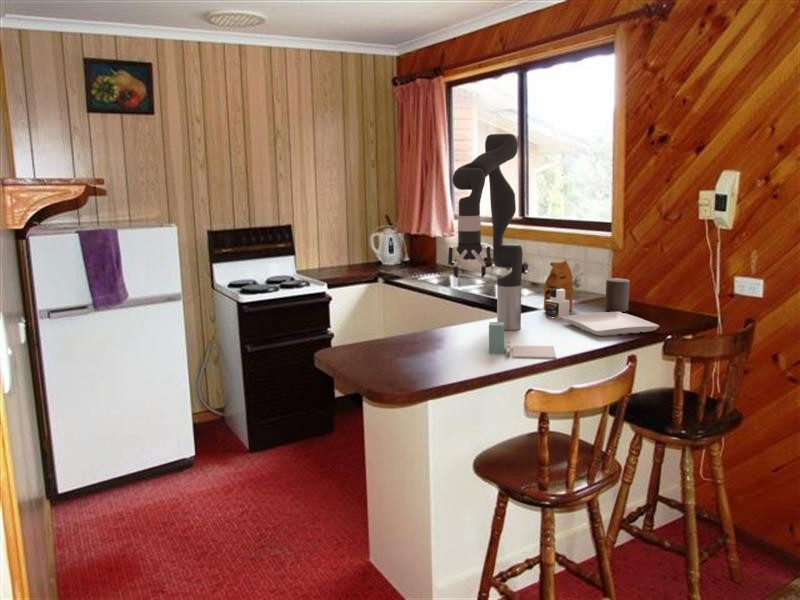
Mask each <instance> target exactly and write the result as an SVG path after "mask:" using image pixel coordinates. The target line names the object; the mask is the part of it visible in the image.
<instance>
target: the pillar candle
mask: <svg viewBox="0 0 800 600" xmlns="http://www.w3.org/2000/svg"><path fill="white" fill-rule="evenodd" d="M630 281H631V280H629V279H628V278H627V279H626V278H620V277H618V276H617V277H615V278H614V277H613V278H607V279H606V281H605V299H604V300H605V301H604V302H605V303H604V304H605V306H604V311H605V310H606V311H605V312H607V311H611V312H626V311H628V312H629V304H630V303H629V301H630V299H629V298H630ZM626 313H627V312H626Z"/></svg>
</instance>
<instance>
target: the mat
mask: <svg viewBox="0 0 800 600" xmlns="http://www.w3.org/2000/svg"><path fill="white" fill-rule="evenodd" d="M512 358H513V359H545V358H552V359H551V360H553V359H555V360H556V359H557V355H556V351H555V347H554V345H519V344H517V345H515V344H514V345H512Z"/></svg>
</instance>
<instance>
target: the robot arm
mask: <svg viewBox="0 0 800 600" xmlns="http://www.w3.org/2000/svg"><path fill="white" fill-rule="evenodd" d="M518 150H519V143H518V139H517V137H516V135H514V134H513V133H492V134H488V135H487V136H486V138H485V142H484V151H485V152H483V153H481V154H480V155H478V156H476V158H475V159H473V160H472V161H471V162H468V163H466V164H464V165H461V166H460V167H458V168H457V169H456V170H455V171H454V173H453V175H452V185H453V186H454V187H455V189H457V190H460V191H466V190H467V191H468V190H469V191H470V195H469V196H464V197H461V198H459V200H458V220H457V239H458V240H457V242H458V243H457V247H456V246H449V248H448V258H447V259H448V262H447V264H448V265H449V266H452V267H453V275H454V277H455V278H456V279H457V278H459V264H460V263H461V261H462V260H464V261H468V260H472V261H474V260H477V261H478V262H479V264H480V265H481V274H480V275H481V278H485V277H484V276H486V273H487V268H486V267H487V266H489V265H491V264H492V258H493V264H494V266H496V267H497V268H503V269H504V268H507V269H511V271H510V272H509V273H508V274H505V275H500V276H499V277H497V280H496V283H497V284H496V285H497V286H496V289H497V290H496V292H497V296H496V298H497V301H496V302H497V303H496V304H497V305H496V316H497V317H496V318H497V319H496V322H504V331H516V330H517V331H518V330H520V329H521V328H522V324H521V323H522V322H521V321H522V271H523V270H522V269H523V268H522V267H523V255H524V253H523V247H522V245H521V244H518V243H504V241H503V240H504V234H505V232H506V229H507V228H508V227H509V224H510V223H511V222H512V220H513V218H514V216H515V214H516V194H515V191H514V190H513V187H512V186H511V184H510V183H509V181H508V180H507V179H506V177H505V176H504V174H503V172H502V170H501V167H500V166H501V165H503V164H505V163H507V162H510V161H511V160H512V159H514V158H515V157H516V155H517V154H518ZM487 177H488V181H489V196H490V197H489V200H490V211H491V222H492V255H491V246H490V245H487V246H482V245H481V244H482V237H481V236H482V234H481V233H482V231H481V230H482V224H481V215H480V214H481V208H480V207H481V199H482V195H483V190H484V187H485V183H486V178H487ZM456 251H457V253H458V254H459V255H458V257H457V258H456V260H455V261H453V254H455V253H456ZM481 252H484V253H485V254H486V261H485V260H484V259H483V258H482V257H481V255H480V254H481Z"/></svg>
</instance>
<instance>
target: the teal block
mask: <svg viewBox="0 0 800 600" xmlns="http://www.w3.org/2000/svg"><path fill="white" fill-rule="evenodd" d="M488 354H489V355H504V354H505V330H504V322H497V321H489V323H488Z"/></svg>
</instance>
